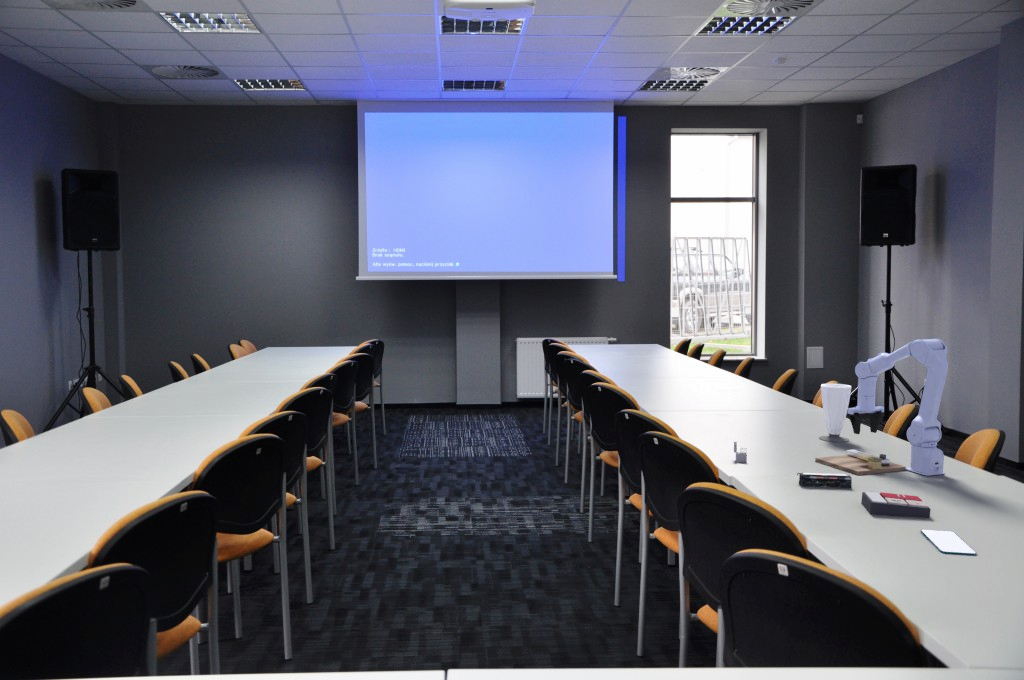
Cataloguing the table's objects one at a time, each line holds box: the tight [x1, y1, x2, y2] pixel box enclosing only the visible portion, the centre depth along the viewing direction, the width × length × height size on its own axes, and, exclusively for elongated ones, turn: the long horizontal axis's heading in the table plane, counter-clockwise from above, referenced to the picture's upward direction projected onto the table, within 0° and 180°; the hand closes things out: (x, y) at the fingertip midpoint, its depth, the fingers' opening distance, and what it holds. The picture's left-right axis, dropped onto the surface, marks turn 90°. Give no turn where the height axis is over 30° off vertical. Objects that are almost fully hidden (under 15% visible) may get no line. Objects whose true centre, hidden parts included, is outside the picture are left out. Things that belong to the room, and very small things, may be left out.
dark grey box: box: [861, 491, 932, 519], centre depth 217 cm, size 11×4×15 cm
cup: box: [818, 383, 852, 443], centre depth 310 cm, size 12×12×22 cm
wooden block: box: [857, 453, 881, 469], centre depth 261 cm, size 7×4×3 cm, turn 19°
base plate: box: [814, 453, 907, 476], centre depth 268 cm, size 20×20×4 cm
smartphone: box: [920, 529, 977, 556], centre depth 190 cm, size 8×1×16 cm
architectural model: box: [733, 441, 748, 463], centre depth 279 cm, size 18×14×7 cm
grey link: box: [845, 449, 891, 465], centre depth 271 cm, size 17×4×2 cm, turn 19°
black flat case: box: [796, 472, 853, 489], centre depth 241 cm, size 14×25×4 cm, turn 83°
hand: (865, 433), depth 280 cm, fingers open, 7 cm apart
